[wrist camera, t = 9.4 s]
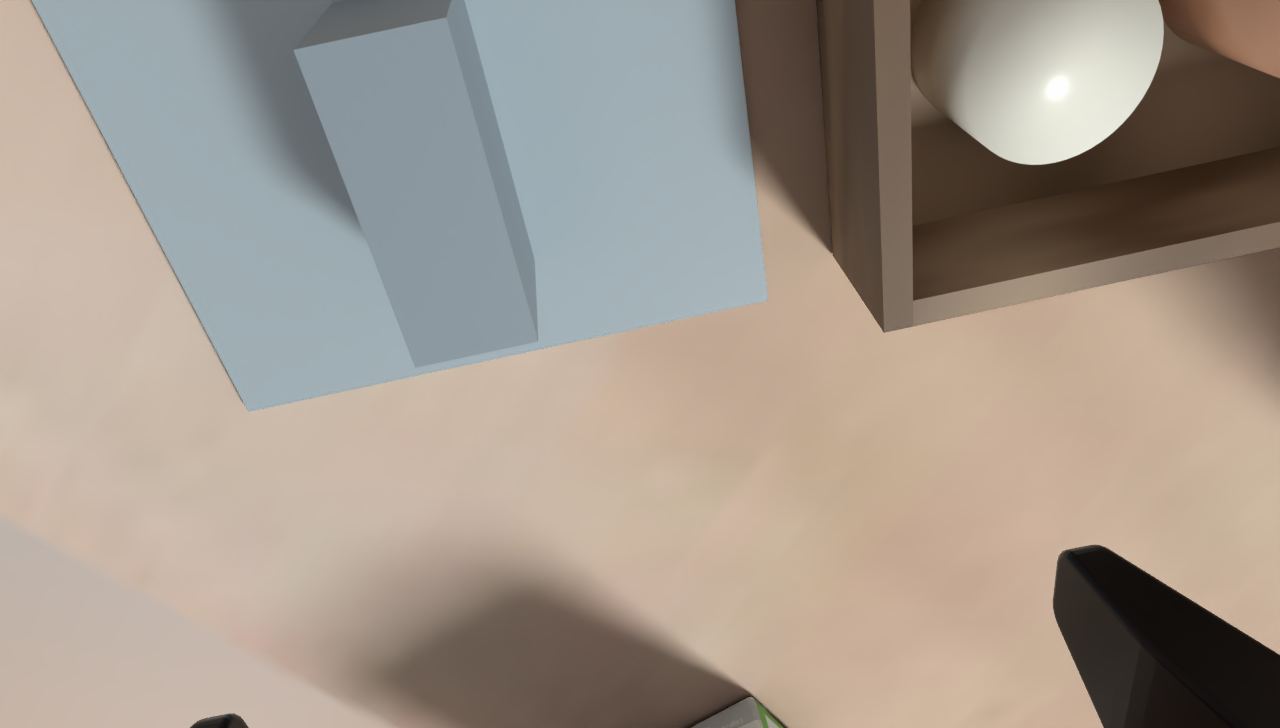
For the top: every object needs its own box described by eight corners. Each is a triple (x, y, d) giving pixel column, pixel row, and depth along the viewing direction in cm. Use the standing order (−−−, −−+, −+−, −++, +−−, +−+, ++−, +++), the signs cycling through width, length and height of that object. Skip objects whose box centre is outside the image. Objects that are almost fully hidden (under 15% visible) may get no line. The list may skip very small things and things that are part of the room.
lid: (701, -226, 16) (756, -229, 13) (760, 284, 22) (808, 382, 18) (14, -80, 16) (-130, -41, 12) (256, 392, 22) (206, 511, 18)
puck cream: (1094, -84, 17) (1178, -65, 15) (1076, 101, 19) (1148, 142, 17) (908, -44, 17) (966, -19, 15) (910, 137, 19) (961, 182, 17)
